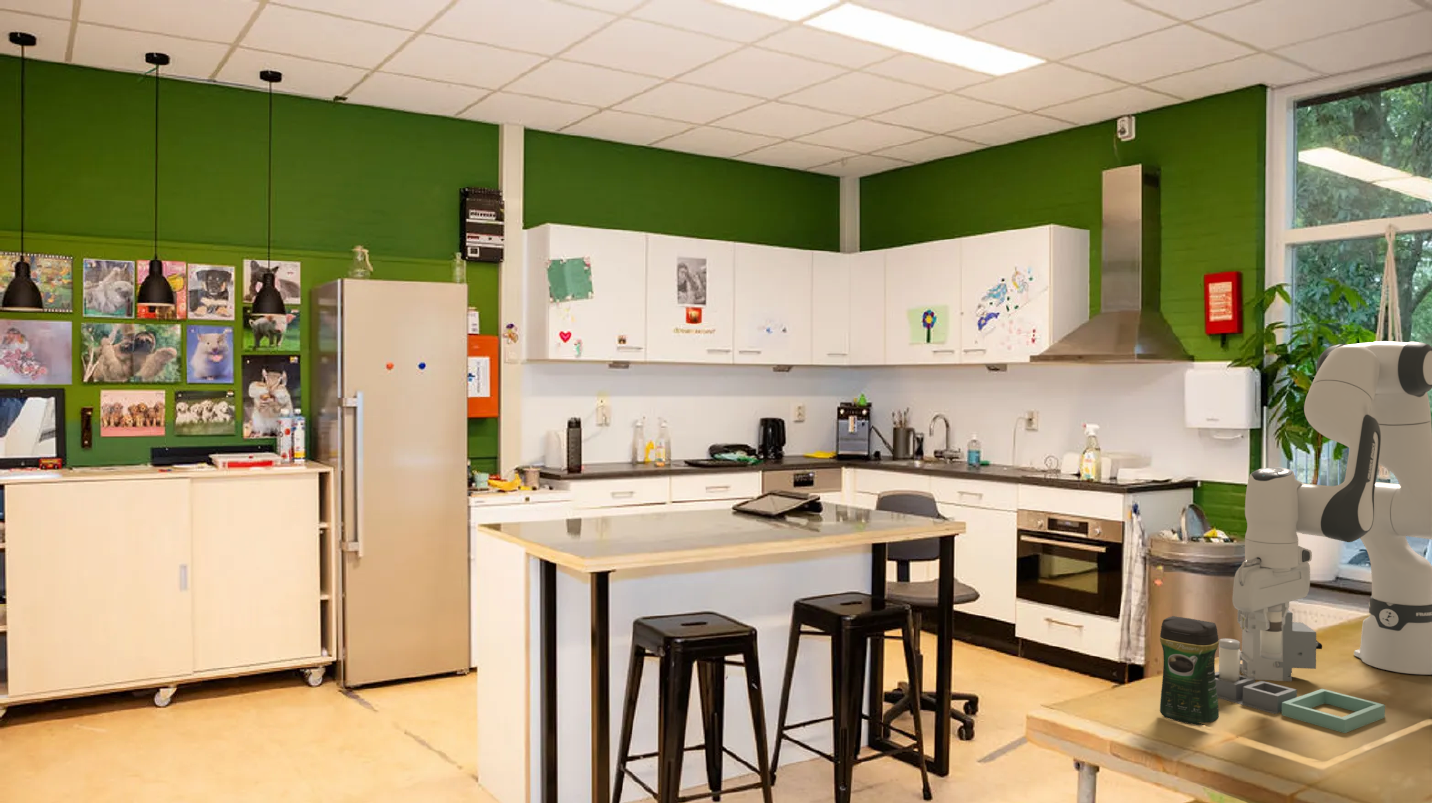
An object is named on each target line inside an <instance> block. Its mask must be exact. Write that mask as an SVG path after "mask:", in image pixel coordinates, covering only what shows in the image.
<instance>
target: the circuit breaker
mask: <svg viewBox="0 0 1432 803" xmlns="http://www.w3.org/2000/svg"><path fill="white" fill-rule="evenodd" d="M1293 619H1294V618H1293V612H1292V611H1290V610H1289V609H1288V611H1287V614H1286V616H1285V625H1283V626H1282V659H1279V660H1271V659H1265V658H1262V657H1261V656H1260V630H1259V629H1257V620H1256V618H1255V615H1254V613H1253V612H1248V611H1242V610H1238V609H1237V624H1239V627H1240V629H1241V650H1240V661H1241V662H1242V663H1240V673H1241V674H1242V675H1243V676H1246V677H1250V678H1254V679H1255V681H1256V680H1259V681H1276V682H1277V681H1278V682H1292V681H1293V677H1292V674H1293V669H1308V670H1309V669H1312V670H1314V669H1315V670H1316V669H1317V650H1322V649H1323V644H1322V643H1321V642H1319V641H1318V640H1317V631H1315V630H1314V629H1312V628H1311V627H1309V626H1308V625H1307V624H1305V623H1304V622H1302V621H1301V622H1298V621H1297V622H1296V621H1294V620H1293Z"/></svg>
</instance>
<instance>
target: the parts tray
mask: <svg viewBox="0 0 1432 803" xmlns="http://www.w3.org/2000/svg"><path fill="white" fill-rule="evenodd" d="M1324 704H1325V705H1330V706H1333V707H1337V708H1341V709H1345V710H1347V711H1348V710H1349V711H1352V712H1351V713H1350V714H1346V715H1344V716H1339V715H1337V714H1336V715H1335V714H1332V713H1328V712H1324V711H1320V710H1317V709H1314V708H1315V707H1318V706H1322V705H1324ZM1385 715H1386V705H1385V704H1383V703H1379V702H1376V701H1372V700H1367V699H1364V698H1360V697H1357V696H1353V695H1348V694H1344V693H1341V692H1336V691H1333V690H1330V689H1329V690H1328V689H1326V688H1325V689H1324V688H1320V689H1317V690H1315V691H1312V692H1308V693H1306V694H1302V695H1300V696H1297V697H1296V698H1294V699H1291V700H1288V701H1285V702H1282V712H1281V716H1283V717H1286V718H1290V719H1294V720H1297V721H1301V722H1305V723H1308V724H1311V725H1315V726H1318V727H1322V728H1325V729H1329V730H1332V731H1336V732H1339V733H1343V734H1346V733H1348V732H1351V731H1354V730H1356V729H1359V728H1362V727H1365V726H1367V725H1370V724H1372V723H1374V722H1377V721H1380V720H1382V719H1385V717H1386V716H1385Z"/></svg>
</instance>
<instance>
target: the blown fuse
mask: <svg viewBox="0 0 1432 803" xmlns="http://www.w3.org/2000/svg"><path fill="white" fill-rule="evenodd" d="M1266 615H1267V619H1268V620H1269V621H1270V629H1269V630H1266V631H1263V630H1260V656H1261V657H1262V658H1265V659H1271V660H1279V659H1282V604H1279V605H1275V606H1272V607H1268V613H1266Z"/></svg>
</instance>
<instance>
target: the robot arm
mask: <svg viewBox="0 0 1432 803" xmlns="http://www.w3.org/2000/svg"><path fill="white" fill-rule="evenodd" d="M1431 390H1432V345H1430V344H1429V343H1425V342H1420V341H1419V342H1418V341H1413V340H1412V341H1411V340H1410V341H1408V342H1405V341H1392V340H1391V341H1389V340H1388V341H1387V340H1383V341H1382V340H1380V341H1379V340H1377V341H1376V340H1375V341H1373V342H1370V341H1369V342H1359V343H1351V344H1347V343H1340V344H1335V345H1332V346H1329V347H1327V348H1326V349H1325V350H1324V351H1323V352H1322V353H1321V354H1320V355H1319V357H1318V359H1317V363H1316V374H1315V376H1314V379H1313V380H1312V383H1311V385H1310V387H1309V390H1308V393H1307V394H1306V397H1305V401H1304V405H1303V411H1304V415H1305V418H1306V420H1307V422H1308V423H1309V425H1310V426H1311V427H1312V428H1313V429H1314V430H1315V431H1316V432H1317V433H1319V434H1320V435H1322V436H1323V437H1325V438H1327V439H1329V440H1332V441H1334V442H1337V443H1339V444H1342V445H1344V446H1345V447H1348V449H1349V450H1348V458H1347V462H1346V470H1345V475H1344V476H1345V477H1344V481H1343V482H1342V483H1339V484H1337V485H1321V484H1313V483H1306V482H1302V481H1300V480H1298V479H1296V476H1295V473H1294V471H1293V470H1291V469H1289V468H1285V467H1277V466H1276V467H1263V468H1259V469H1256V470H1254V471H1252V472H1251V473H1250V475H1249V477H1248V479H1247V486H1246V490H1245V491H1246V492H1245V501H1244V502H1245V503H1244V504H1245V505H1244V516H1245V519H1246V523H1247V524H1246V526H1247V528H1246V532H1245V534H1244V536H1245V537H1244V561H1242V563H1241V565H1240V567H1238V569H1237V570H1236V571H1235V574H1234V578H1233V585H1232V586H1233V589H1232V600H1231V602H1232V605H1233V607H1234V609H1236V610H1237V611H1238V610H1242V611H1248V612H1253V613H1254V615H1255V618H1256V620H1257V629H1259V630H1263V631H1266V630H1269V629H1270V621H1269V620H1268V619H1267V615H1266V613H1268V607H1272V606H1275V605H1279V604H1282V626H1283V625H1285V616H1286V614H1287V611H1288V610H1289V609H1290V602H1293V601H1297V600H1301V599H1304V598H1306V597H1307V596H1308V594H1309V591H1310V588H1311V564H1310V562H1311V561H1312V558H1313V554H1312V553H1313V551H1312V550H1311V549H1308V548H1306V547H1302V546H1300V545H1299V537H1298V534H1302V535H1309V536H1315V537H1324V538H1328V539H1331V540H1337V541H1339V542H1340V541H1341V542H1345V543H1353V542H1355V541H1356V540H1359V539H1360V540H1361V542H1362V544H1363V546H1364V547H1365V549H1366V551H1367V552H1366V553H1367V555H1368V558H1369V561H1370V562H1369V563H1370V569H1371V570H1370V571H1371V595H1370V596H1369V601H1368V613H1369V616H1368V617H1366V618H1365V619H1363V621H1362V627H1361V636H1360V646H1359V649H1355V650H1354V651H1353V655H1354V656H1355V657H1357V658H1359V659H1360V660H1361V661H1362V662H1363V663H1364V664H1366V665H1369V666H1370V667H1374V668H1376V669H1377V668H1378V669H1381V670H1384V671H1385V670H1386V671H1390V672H1395V673H1401V674H1410V675H1432V564H1431V562H1430V561H1429V560H1428V559H1427V558H1425V557H1424V556H1422V555H1420V554H1419V553H1417V552H1416V551H1415V550H1414V549H1413V548H1412V547H1411V546H1410V543H1409V542H1408V539H1407V537H1409V538H1410V537H1411V538H1419V539H1423V540H1424V539H1426V540H1432V416H1431V415H1432V414H1431V407H1430V406H1431V404H1430V399H1429V395H1428V394H1429V393H1428V392H1430V391H1431ZM1379 465H1380V466H1381V467H1383V468H1384V469H1387V470H1388V471H1389V472H1391V474H1393V476H1394V477H1395V478H1396V481H1397V482H1398V483H1393V482H1382V481H1377V476H1378V468H1379Z"/></svg>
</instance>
